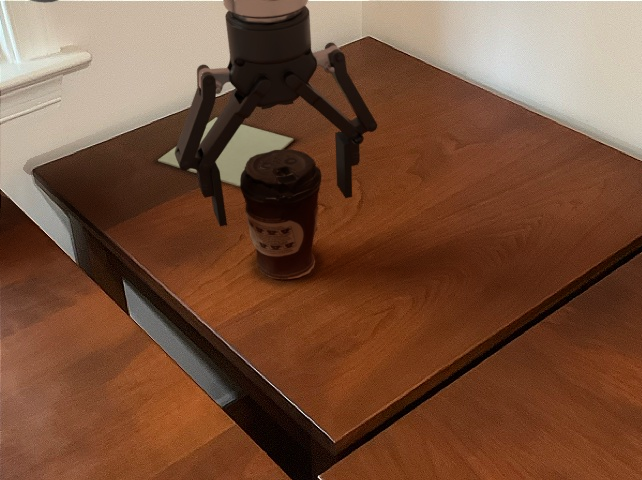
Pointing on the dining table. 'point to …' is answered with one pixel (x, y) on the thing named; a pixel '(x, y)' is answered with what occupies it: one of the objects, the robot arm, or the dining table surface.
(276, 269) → the coffee cup
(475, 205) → the dining table surface
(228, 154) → the mat
